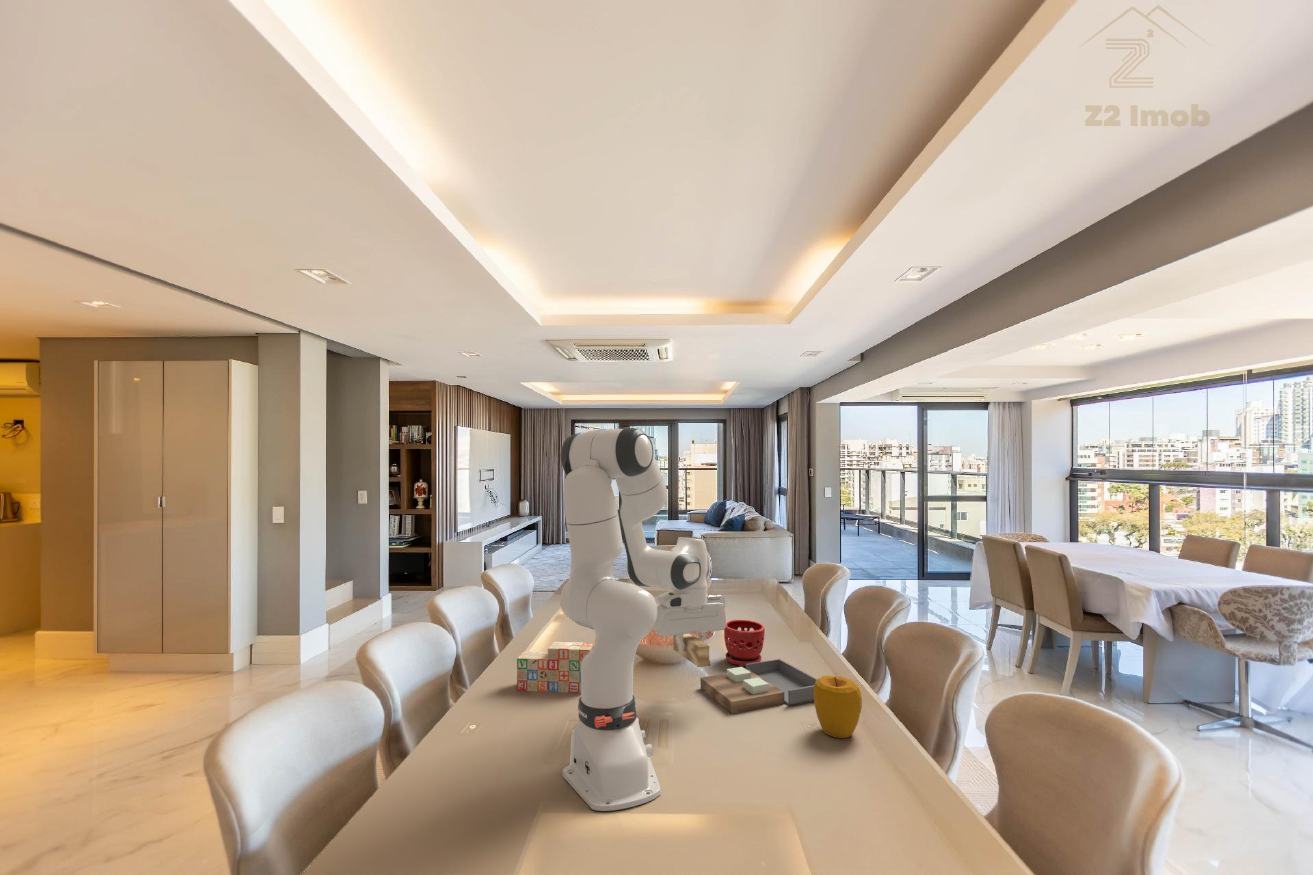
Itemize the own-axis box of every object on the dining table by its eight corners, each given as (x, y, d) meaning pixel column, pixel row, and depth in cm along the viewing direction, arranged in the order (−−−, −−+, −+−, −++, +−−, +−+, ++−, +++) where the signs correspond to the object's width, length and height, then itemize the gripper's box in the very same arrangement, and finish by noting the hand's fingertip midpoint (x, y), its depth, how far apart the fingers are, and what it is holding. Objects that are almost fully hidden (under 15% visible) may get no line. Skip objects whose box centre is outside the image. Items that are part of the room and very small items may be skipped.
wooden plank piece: (710, 665, 141) (710, 645, 141) (698, 667, 140) (698, 647, 140) (683, 648, 156) (684, 630, 156) (673, 649, 154) (673, 630, 155)
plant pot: (722, 667, 175) (721, 628, 176) (726, 653, 188) (726, 618, 188) (764, 670, 172) (763, 631, 173) (766, 656, 185) (765, 620, 185)
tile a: (768, 691, 148) (768, 683, 148) (752, 694, 146) (752, 686, 146) (758, 684, 153) (758, 677, 153) (743, 687, 151) (742, 679, 151)
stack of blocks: (516, 691, 157) (516, 647, 158) (523, 683, 164) (523, 640, 164) (590, 693, 155) (590, 649, 156) (594, 685, 161) (594, 642, 162)
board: (784, 703, 148) (784, 691, 148) (732, 713, 142) (731, 701, 142) (748, 679, 164) (748, 669, 164) (700, 688, 158) (700, 677, 158)
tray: (826, 698, 150) (826, 683, 151) (789, 706, 146) (789, 690, 146) (779, 671, 171) (779, 658, 171) (746, 677, 166) (745, 663, 166)
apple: (860, 725, 135) (859, 671, 136) (864, 746, 124) (863, 688, 125) (813, 720, 138) (812, 667, 138) (814, 740, 127) (812, 683, 128)
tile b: (751, 679, 157) (750, 672, 157) (735, 682, 155) (735, 674, 155) (741, 673, 161) (741, 666, 161) (726, 676, 159) (726, 669, 159)
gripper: (719, 592, 156) (719, 642, 154) (651, 596, 148) (651, 649, 147) (730, 596, 150) (730, 648, 149) (660, 601, 142) (660, 656, 141)
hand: (690, 649), depth 148 cm, fingers closed on wooden plank piece, 3 cm apart
